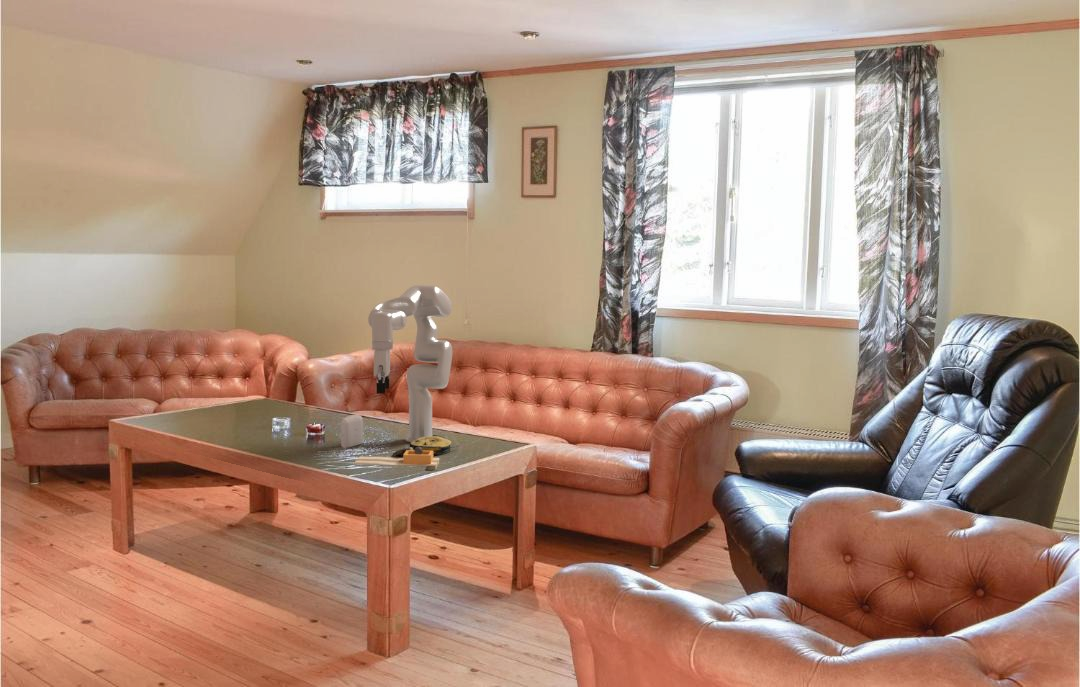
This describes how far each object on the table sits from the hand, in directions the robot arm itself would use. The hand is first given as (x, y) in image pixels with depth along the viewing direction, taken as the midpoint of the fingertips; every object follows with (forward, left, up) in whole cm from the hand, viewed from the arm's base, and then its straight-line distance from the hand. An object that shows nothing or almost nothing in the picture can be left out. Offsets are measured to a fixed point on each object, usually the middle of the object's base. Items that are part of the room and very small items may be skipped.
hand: (383, 391), depth 328 cm
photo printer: (-24, -17, -27) cm, 40 cm away
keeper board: (+6, +6, -27) cm, 28 cm away
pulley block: (-12, +13, -27) cm, 32 cm away
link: (+6, +14, -25) cm, 29 cm away
